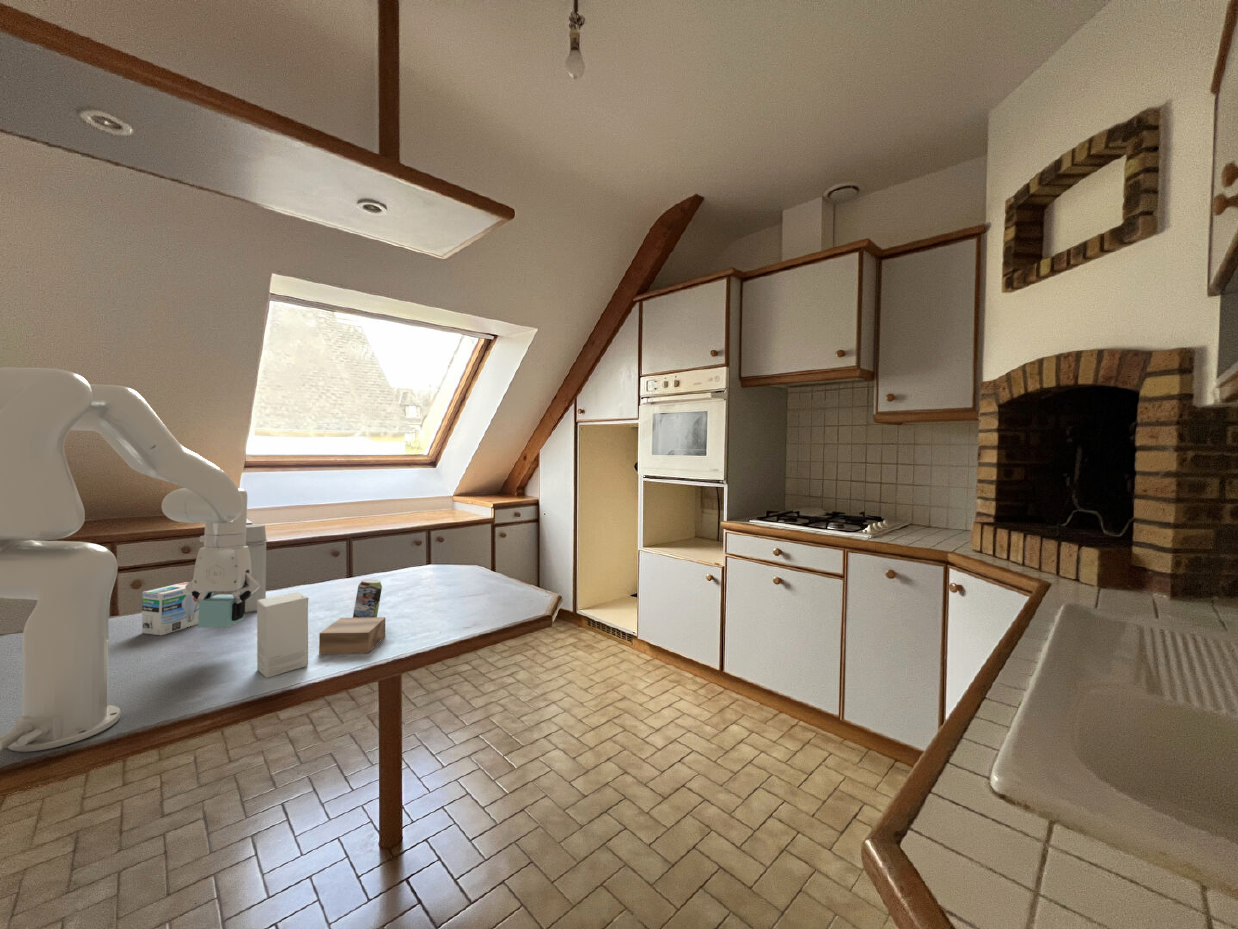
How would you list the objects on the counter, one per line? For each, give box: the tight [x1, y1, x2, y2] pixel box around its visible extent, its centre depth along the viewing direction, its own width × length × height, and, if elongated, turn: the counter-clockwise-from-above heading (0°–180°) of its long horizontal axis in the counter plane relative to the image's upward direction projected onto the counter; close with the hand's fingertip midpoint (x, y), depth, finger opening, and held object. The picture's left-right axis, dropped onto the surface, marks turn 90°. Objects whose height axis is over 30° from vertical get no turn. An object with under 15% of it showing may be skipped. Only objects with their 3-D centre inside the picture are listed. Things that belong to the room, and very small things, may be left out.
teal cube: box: [197, 593, 246, 629], centre depth 113 cm, size 6×6×6 cm
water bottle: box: [245, 523, 268, 614], centre depth 144 cm, size 9×8×25 cm
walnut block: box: [318, 616, 386, 655], centre depth 121 cm, size 11×11×5 cm
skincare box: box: [256, 591, 309, 679], centre depth 107 cm, size 8×7×16 cm
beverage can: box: [352, 579, 383, 618], centre depth 137 cm, size 6×7×12 cm
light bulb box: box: [141, 581, 199, 636], centre depth 129 cm, size 11×7×11 cm, turn 168°
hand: (222, 618), depth 113 cm, fingers closed on teal cube, 6 cm apart
